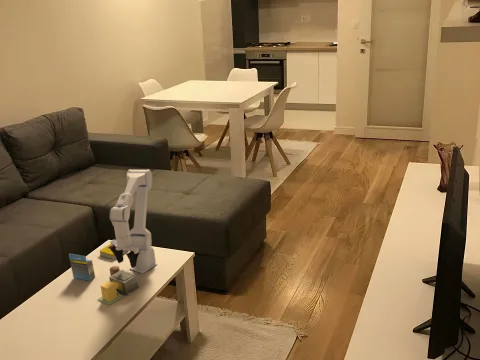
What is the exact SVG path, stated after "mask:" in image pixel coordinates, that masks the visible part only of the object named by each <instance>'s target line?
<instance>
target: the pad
mask: <svg viewBox="0 0 480 360" xmlns="http://www.w3.org/2000/svg"><path fill="white" fill-rule="evenodd" d="M123 297H124V295H123V294H120V293H118V292H117V297H116V298H114V299H113V300H111V301H110V302H109V301H107V300H105V299H103V297H102V296H100V297H99V298H97V301H99V302H101V303H104V304H106V305H108V306H111V305H112V304H114V303H115V302H117V301H118V300H120V299H121V298H123Z"/></svg>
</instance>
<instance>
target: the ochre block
mask: <svg viewBox="0 0 480 360" xmlns="http://www.w3.org/2000/svg"><path fill="white" fill-rule="evenodd" d="M100 290H101V297H103V299H105V300H107V301H109V302H110V301H111V300H113V299H114V298H116V297H117V293H118V292H116V286H115V284H114V283H112V282H110V280H109V281H108V280H107V281H106V282H104V283H102V284H101V285H100Z"/></svg>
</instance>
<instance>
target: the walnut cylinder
mask: <svg viewBox="0 0 480 360" xmlns="http://www.w3.org/2000/svg"><path fill="white" fill-rule="evenodd" d="M120 270H121V269H120V266H118V265H112V266H111V267H110V268H109V274H110V276H112V275H114V274H115V273H117V272H118V271H120Z"/></svg>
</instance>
